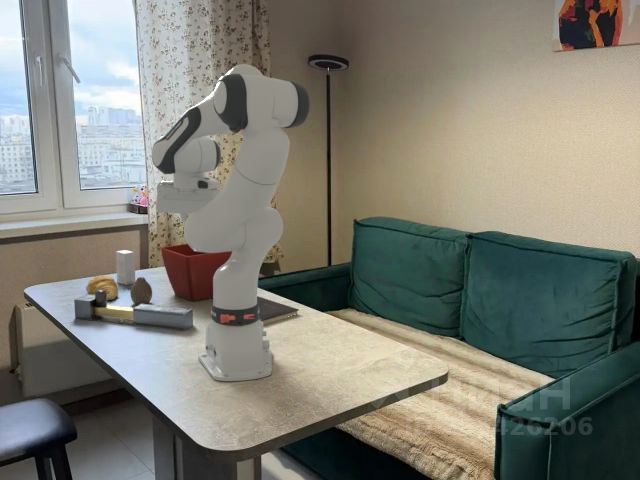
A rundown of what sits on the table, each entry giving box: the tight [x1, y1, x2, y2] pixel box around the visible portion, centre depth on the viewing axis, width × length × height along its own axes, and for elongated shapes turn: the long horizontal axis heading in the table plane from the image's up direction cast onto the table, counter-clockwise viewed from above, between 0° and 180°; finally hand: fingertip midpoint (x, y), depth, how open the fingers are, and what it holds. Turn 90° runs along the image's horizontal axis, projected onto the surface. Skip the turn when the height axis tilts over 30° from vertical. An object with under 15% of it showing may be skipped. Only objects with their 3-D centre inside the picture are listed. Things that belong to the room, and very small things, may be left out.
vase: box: [130, 276, 153, 306], centre depth 191 cm, size 7×7×9 cm
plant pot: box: [160, 243, 232, 302], centre depth 202 cm, size 19×19×17 cm
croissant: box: [85, 274, 119, 301], centre depth 201 cm, size 21×10×8 cm, turn 38°
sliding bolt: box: [93, 290, 134, 319], centre depth 175 cm, size 22×3×7 cm, turn 76°
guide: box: [73, 293, 194, 332], centre depth 174 cm, size 36×6×6 cm, turn 76°
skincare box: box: [115, 249, 136, 286], centre depth 216 cm, size 6×4×12 cm
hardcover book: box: [257, 295, 300, 326], centre depth 187 cm, size 16×23×2 cm
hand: (190, 228), depth 172 cm, fingers closed
